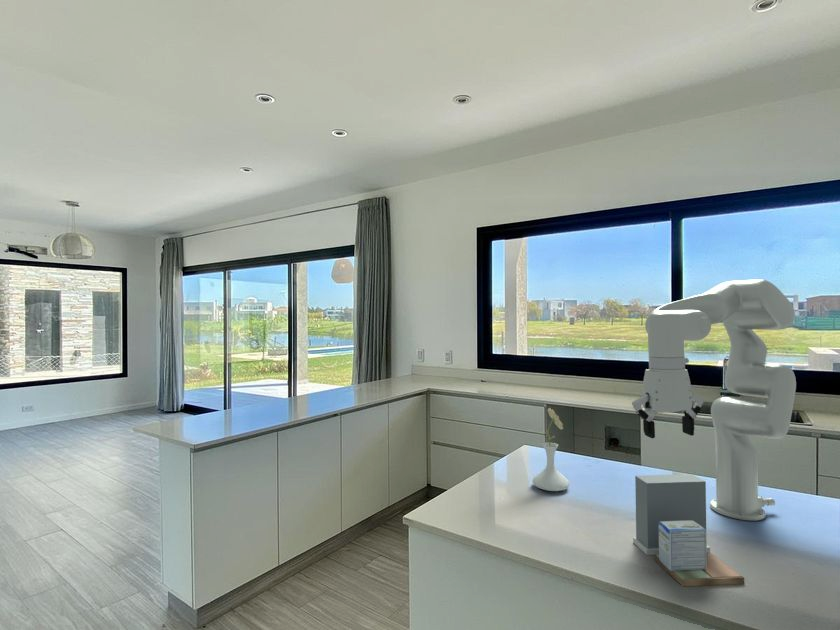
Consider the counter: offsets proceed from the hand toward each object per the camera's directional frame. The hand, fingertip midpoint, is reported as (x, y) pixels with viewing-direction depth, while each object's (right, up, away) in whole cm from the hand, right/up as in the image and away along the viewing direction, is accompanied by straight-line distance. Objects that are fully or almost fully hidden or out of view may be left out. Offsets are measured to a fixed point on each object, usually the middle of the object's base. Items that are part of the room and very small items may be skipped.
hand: (669, 435), depth 108 cm
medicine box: (-3, -25, -11) cm, 28 cm away
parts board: (0, -26, -11) cm, 28 cm away
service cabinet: (0, -26, -1) cm, 26 cm away
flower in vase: (-17, -27, +37) cm, 49 cm away
